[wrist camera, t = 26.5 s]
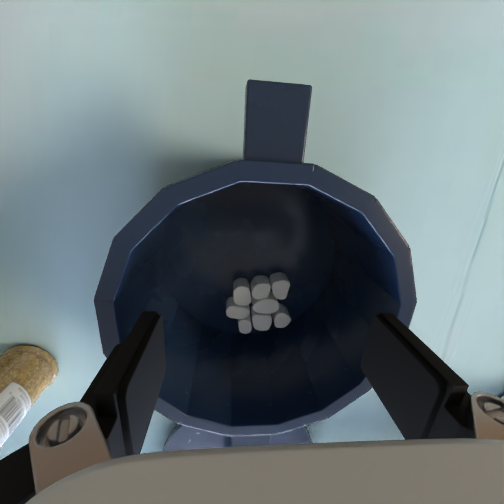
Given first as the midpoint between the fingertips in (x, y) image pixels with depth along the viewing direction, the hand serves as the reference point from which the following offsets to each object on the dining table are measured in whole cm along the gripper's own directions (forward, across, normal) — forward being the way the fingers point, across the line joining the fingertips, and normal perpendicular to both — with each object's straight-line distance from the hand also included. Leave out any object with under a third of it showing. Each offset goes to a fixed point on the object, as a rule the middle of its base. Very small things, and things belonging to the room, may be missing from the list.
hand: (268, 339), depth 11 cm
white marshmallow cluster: (+8, 0, +1) cm, 8 cm away
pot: (+9, 0, 0) cm, 9 cm away
